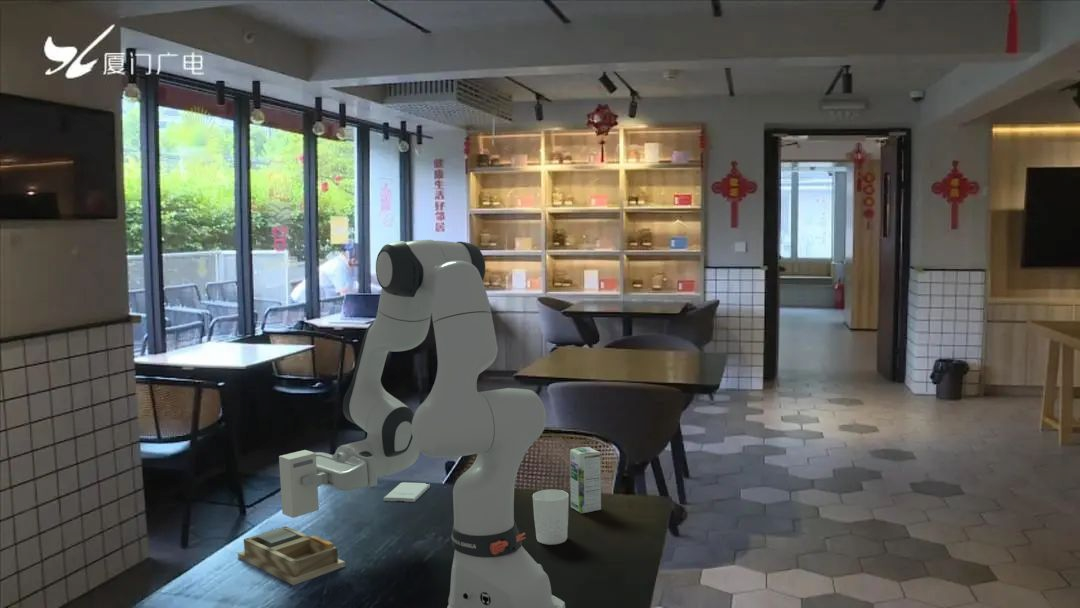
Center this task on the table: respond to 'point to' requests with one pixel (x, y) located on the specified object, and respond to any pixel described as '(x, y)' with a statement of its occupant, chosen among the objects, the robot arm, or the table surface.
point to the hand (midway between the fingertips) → (294, 479)
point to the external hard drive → (407, 492)
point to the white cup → (551, 516)
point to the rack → (291, 555)
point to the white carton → (298, 483)
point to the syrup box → (585, 479)
